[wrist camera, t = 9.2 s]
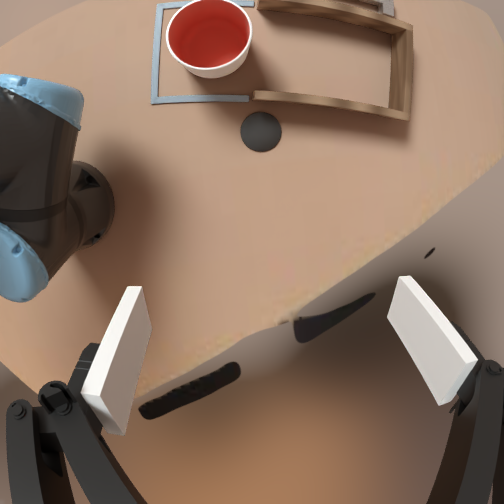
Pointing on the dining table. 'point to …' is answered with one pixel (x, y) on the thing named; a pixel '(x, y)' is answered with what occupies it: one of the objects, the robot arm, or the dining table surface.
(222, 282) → the dining table surface
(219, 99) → the pale blue bent rod
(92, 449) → the robot arm
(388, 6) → the hook bar
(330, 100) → the cubby
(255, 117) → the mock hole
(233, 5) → the cup
